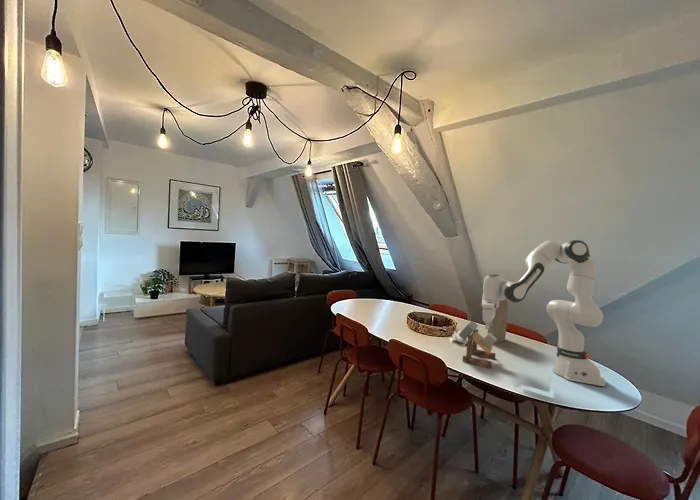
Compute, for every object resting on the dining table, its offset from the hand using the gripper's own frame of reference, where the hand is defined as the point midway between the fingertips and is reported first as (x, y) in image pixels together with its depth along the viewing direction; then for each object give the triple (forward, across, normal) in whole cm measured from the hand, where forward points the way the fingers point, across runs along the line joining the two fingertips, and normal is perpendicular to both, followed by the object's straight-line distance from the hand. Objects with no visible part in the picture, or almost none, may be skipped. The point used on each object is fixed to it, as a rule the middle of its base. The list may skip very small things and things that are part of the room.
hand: (488, 327), depth 174 cm
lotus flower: (+20, -24, -20) cm, 37 cm away
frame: (+20, 0, -8) cm, 21 cm away
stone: (+10, 0, -1) cm, 10 cm away
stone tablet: (+20, -44, -1) cm, 48 cm away
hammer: (+6, 0, -8) cm, 10 cm away
